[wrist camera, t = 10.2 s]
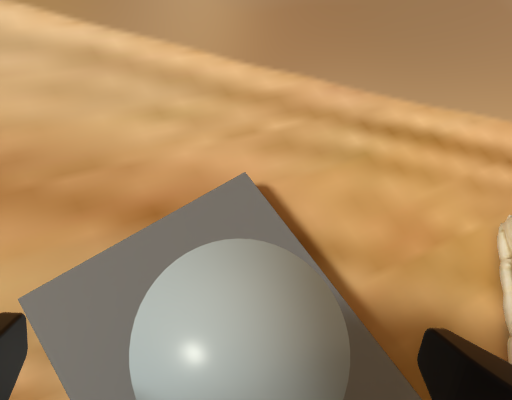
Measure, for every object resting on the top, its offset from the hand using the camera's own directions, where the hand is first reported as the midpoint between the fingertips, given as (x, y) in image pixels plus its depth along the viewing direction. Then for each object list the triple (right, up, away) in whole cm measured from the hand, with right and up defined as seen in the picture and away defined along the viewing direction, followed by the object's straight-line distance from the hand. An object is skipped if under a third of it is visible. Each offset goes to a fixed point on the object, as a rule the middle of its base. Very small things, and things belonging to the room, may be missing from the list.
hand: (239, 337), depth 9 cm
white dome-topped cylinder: (-2, -4, +8) cm, 9 cm away
